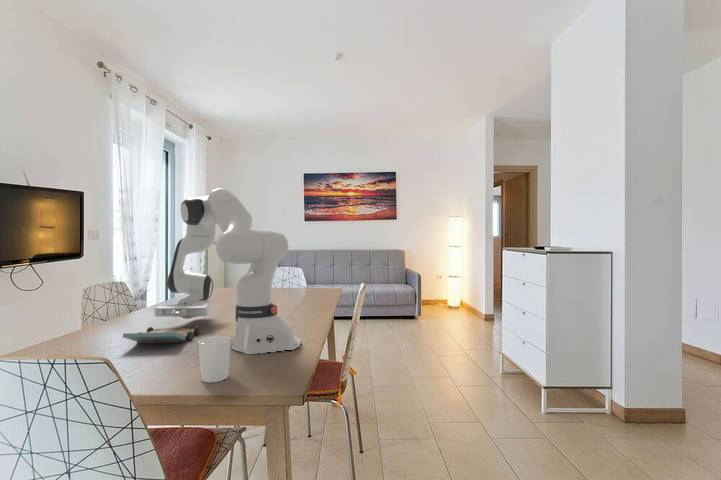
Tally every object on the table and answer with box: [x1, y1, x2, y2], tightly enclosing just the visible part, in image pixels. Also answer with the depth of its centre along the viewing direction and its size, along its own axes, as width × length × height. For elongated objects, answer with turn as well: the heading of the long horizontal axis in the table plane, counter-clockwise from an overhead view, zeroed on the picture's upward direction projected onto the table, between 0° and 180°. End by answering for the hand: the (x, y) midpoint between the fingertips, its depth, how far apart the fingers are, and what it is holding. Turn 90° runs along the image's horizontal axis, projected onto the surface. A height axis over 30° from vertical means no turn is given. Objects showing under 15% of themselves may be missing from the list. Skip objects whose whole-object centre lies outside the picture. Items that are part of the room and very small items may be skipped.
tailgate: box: [122, 332, 186, 343], centre depth 125 cm, size 16×2×10 cm
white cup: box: [197, 335, 232, 384], centre depth 97 cm, size 8×8×10 cm
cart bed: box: [137, 325, 201, 344], centre depth 136 cm, size 18×12×3 cm, turn 96°
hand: (175, 314), depth 142 cm, fingers closed
